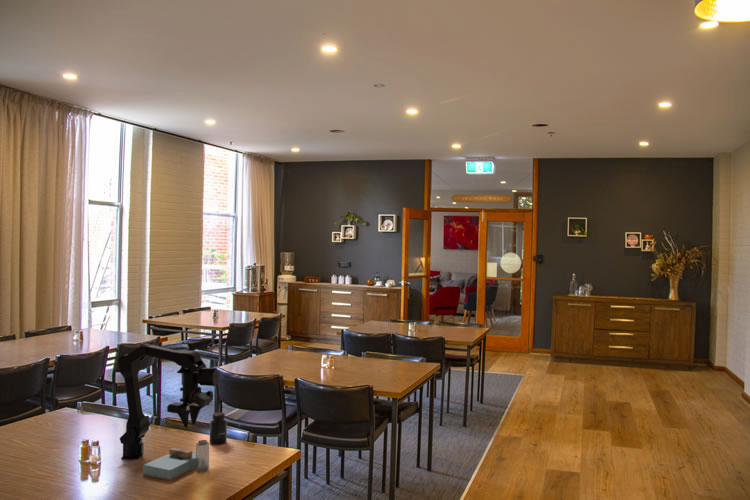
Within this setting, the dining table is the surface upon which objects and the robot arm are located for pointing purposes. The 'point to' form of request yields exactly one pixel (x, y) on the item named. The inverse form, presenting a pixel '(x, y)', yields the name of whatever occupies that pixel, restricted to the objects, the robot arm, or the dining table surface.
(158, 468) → the socket
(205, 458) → the grey cylindrical piece
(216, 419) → the supplement bottle
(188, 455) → the lock bar
